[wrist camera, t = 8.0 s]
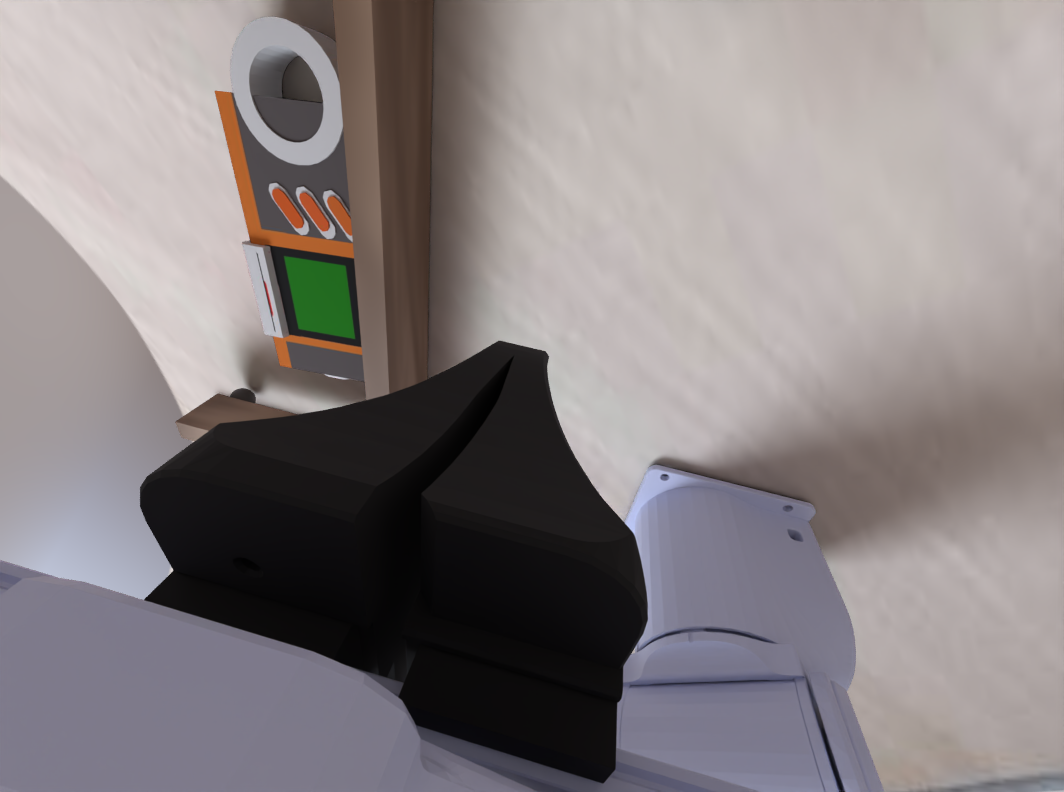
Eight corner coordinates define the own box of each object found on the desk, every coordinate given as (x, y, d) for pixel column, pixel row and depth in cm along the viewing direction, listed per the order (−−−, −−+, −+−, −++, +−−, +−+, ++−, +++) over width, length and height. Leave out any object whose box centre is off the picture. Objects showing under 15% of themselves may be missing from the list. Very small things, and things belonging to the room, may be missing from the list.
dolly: (434, -38, 15) (367, -90, 11) (426, 446, 27) (393, 497, 24) (94, -95, 16) (-71, -160, 12) (239, 398, 28) (180, 440, 25)
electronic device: (350, 21, 15) (386, 395, 22) (391, 40, 17) (410, 370, 25) (176, 6, 15) (269, 373, 23) (239, 26, 18) (304, 351, 26)
